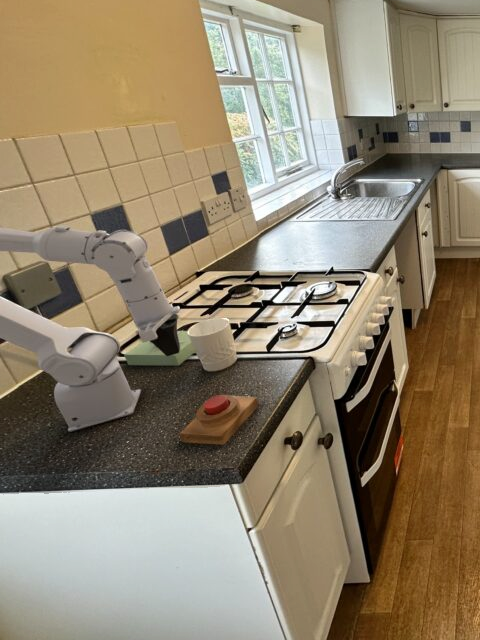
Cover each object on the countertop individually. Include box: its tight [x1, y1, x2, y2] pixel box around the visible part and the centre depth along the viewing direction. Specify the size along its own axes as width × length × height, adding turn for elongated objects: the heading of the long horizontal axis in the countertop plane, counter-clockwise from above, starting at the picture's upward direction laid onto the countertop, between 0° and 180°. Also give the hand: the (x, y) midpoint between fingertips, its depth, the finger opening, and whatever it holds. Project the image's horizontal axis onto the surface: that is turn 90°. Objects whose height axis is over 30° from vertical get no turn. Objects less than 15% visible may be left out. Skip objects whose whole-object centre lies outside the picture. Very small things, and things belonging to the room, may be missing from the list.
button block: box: [179, 394, 260, 446], centre depth 79 cm, size 10×8×4 cm
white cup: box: [186, 317, 238, 372], centre depth 95 cm, size 8×8×10 cm
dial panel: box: [123, 330, 196, 366], centre depth 100 cm, size 12×10×3 cm
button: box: [203, 394, 229, 415], centre depth 78 cm, size 4×4×2 cm
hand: (173, 353), depth 83 cm, fingers closed
